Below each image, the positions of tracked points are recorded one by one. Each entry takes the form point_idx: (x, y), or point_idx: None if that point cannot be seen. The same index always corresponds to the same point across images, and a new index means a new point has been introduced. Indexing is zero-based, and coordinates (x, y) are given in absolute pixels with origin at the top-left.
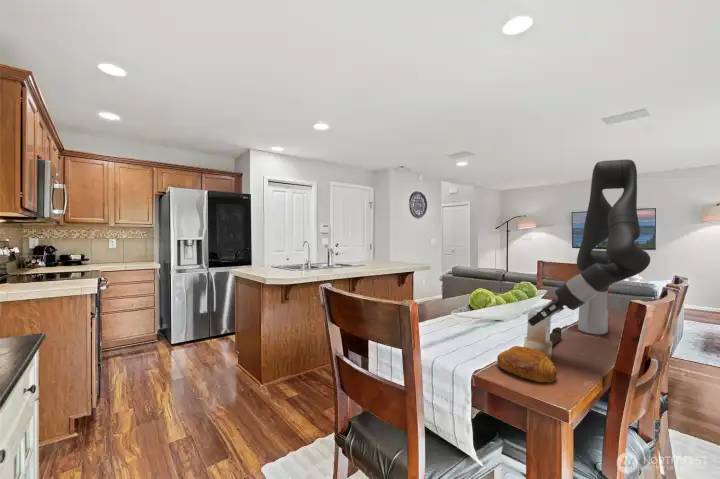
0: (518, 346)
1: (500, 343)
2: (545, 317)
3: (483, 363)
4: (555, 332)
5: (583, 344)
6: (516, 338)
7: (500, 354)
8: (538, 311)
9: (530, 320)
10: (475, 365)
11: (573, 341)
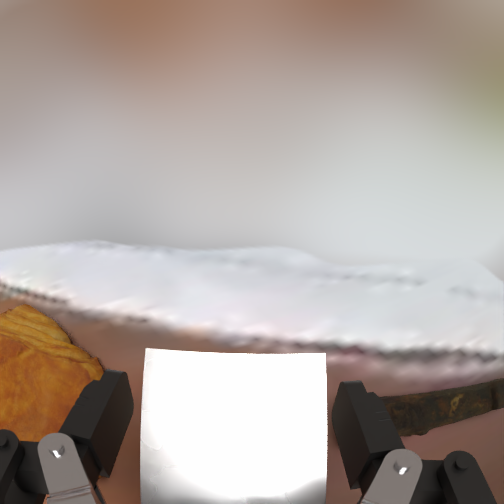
0: (4, 361)
1: (269, 258)
2: (11, 496)
3: (32, 277)
4: (487, 399)
5: (492, 471)
6: (386, 285)
7: (7, 312)
8: (321, 410)
9: (85, 388)
10: (13, 265)
11: (501, 437)
